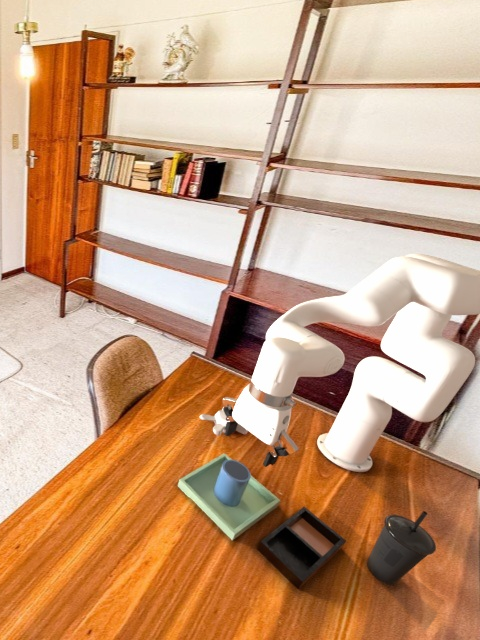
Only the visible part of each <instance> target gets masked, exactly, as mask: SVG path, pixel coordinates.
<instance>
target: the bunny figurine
mask: <svg viewBox="0 0 480 640" xmlns="http://www.w3.org/2000/svg"><path fill="white" fill-rule="evenodd" d="M223 408H224V406H223V407H222V408H221V409H220V410H218V411H217V412H216V413H215V414H214V415H211V414H207V413H202V414H200V415H199V419H200V420H202V421H206V422H207V421H209V422H214V426H213V427H212V432H213V434H214V435H216V436H221V435H222V434H223V433H224V434H225V431H226V429H225V427H226V424H227V421H226V415H225V413H224V410H223ZM235 432H238V433H240V434H243V435H247V434H248V432H249V431H248V430H247V429H245V428H244V427H243V426H241V425H240V424H239V423H238V425H237V428H236V431H235Z"/></svg>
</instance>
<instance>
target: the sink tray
mask: <svg viewBox="0 0 480 640" xmlns="http://www.w3.org/2000/svg"><path fill="white" fill-rule="evenodd" d="M230 459H231V460H233V459H232V458H231V457H230V456H229V455H227V454H226V453H225V452H224V453H222V454H220V455H218V456H217V457H215V458H214V459H211V460H210V461H208V462H207V463H205V464H204V465H201V466H200V467H198V468H196V469H195V470H193V471H191V472H190V473H188V474H186V475H185V476H182V477H181V478H179V480H178V483H177V487H178V489H179V490H181V492H182V493H184V494H185V495H186V496H187V497H188V498H190V499H191V500H192V501H193V502H194V503H195V504H196V505H197V507H199V509H200V510H202V512H204V513H205V514H206V515H207V517H208V518H210V520H211V521H212V522H213V523H214V524H215V525H216V526H217V527H218V528H219V529H220V530H221V531H222V532H223V533H224V534H225V535H226V536H227V537H228V538H229V539H230V540H231V541H234V540H235V539H236V538H238V537H239V536H241V535H242V534H243V533H245V532H246V531H247V530H248V529H250V528H251V527H252V526H254V525H255V524H257V522H259V521H261V520H262V519H263V518H265V517H266V516H267V515H269V514H270V513H271V512H272V511H274V510H275V509H277V508H278V507H279V505H280V503H281V499H279V498H278V497H277V496H276V495H275V494H274V493H272V492H271V491H270V490H269V489H268V488H267V487H266V486H264V485H263V484H262V483H260V481H259V480H257V479H256V478H255V477H253V475H251V478H250V480H249V483H248V485H247V487H246V490H245V492H244V495H243V497H242V499H241V502H240V504H239V505H238V506H235V507H230V506H227V505H225V504H223V503H221V502H220V501H219V500H218V499H217V498H216V496H215V495H214V491H213V489H214V486H215V483H216V480H217V478H218V475H219V472H220V469H221V467H222V464H223V462H224V461H225V460H230Z"/></svg>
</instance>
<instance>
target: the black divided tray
mask: <svg viewBox="0 0 480 640" xmlns="http://www.w3.org/2000/svg"><path fill="white" fill-rule="evenodd" d="M346 543H347V540H346V539H345V538H344V537H343V536H341V535H340V534H339V533H337V532H336V531H335V530H334V529H332V527H330V526H329V525H327V524H326V522H324V521H322V520H321V519H320V518H319V517H318V516H317V515H315V514H314V513H313V512H312V511H310V509H308V508H307V507H305V506H302V507H301V508H300V509H298V511H296V512H295V513H294V514H293V515H292V516H290V517H289V518H288V519H286V520H285V521H283V523H281V524H280V525H278V526H277V527H276V528H275V529H273V531H271V532H270V533H268V534H267V535H266V536H265V537H263V539H261V540H260V541H259V543H258V545H257V547H256V550H257V551H258V552H259V553H260V554H261V555H262V556H263V557H264V558H265V559H266V560H267V561H268V562H269V563H270V564H271V565H272V566H273V567H274V568H275V569H276V570H277V571H278V572H279V573H280V574H281V575H282V576H283V577H284V578H285V579H287V581H288V582H289V583H291V585H292V586H294V587H295V589H296V590H297V591H299V590H300V589H301V588H302V587H303V586H304V585H305V584H306V583H307V582H309V581H310V579H312V577H314V576H315V575H316V574H317V573H318V572H319V571H320V570H321V569H322V568H323V567H324V566H325V565H326V564H327V563H328V562H329V561H330V560H331V559H333V558H334V557H335V556H336V555H337V554H338V553H339V552H341V550H342V549H343V547H344V546H345V544H346Z"/></svg>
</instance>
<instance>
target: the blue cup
mask: <svg viewBox="0 0 480 640" xmlns="http://www.w3.org/2000/svg"><path fill="white" fill-rule="evenodd" d="M231 459H232V458H231ZM231 459H230V460H225V461H224V462H223V464H222V467H221V469H220V472H219V475H218V478H217V480H216V483H215V486H214V489H213V491H214V495H215V496H216V498H217V499H218V500H219V501H220V502H221V503H223V504H225V505H227V506H230V507H235V506H238V505H239V504H240V502H241V499H242V497H243V495H244V492H245V490H246V487H247V485H248V483H249V480H250V478H251V476H252V474H251V471H250V470H249V468H248V467H247V466H246V465H245V464H243V463H242V462H240V461H238V460H235V459H232V460H231Z"/></svg>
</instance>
